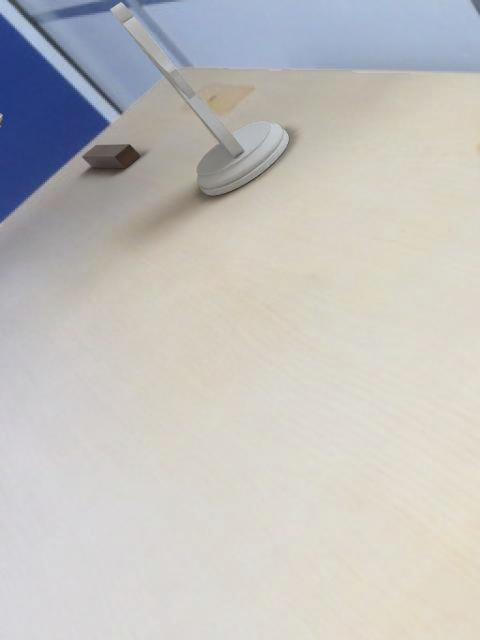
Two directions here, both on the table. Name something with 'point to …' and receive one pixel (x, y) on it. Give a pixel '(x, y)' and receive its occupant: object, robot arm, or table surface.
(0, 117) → the lightbulb
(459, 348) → the table surface
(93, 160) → the walnut stick
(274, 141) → the white sign stand
